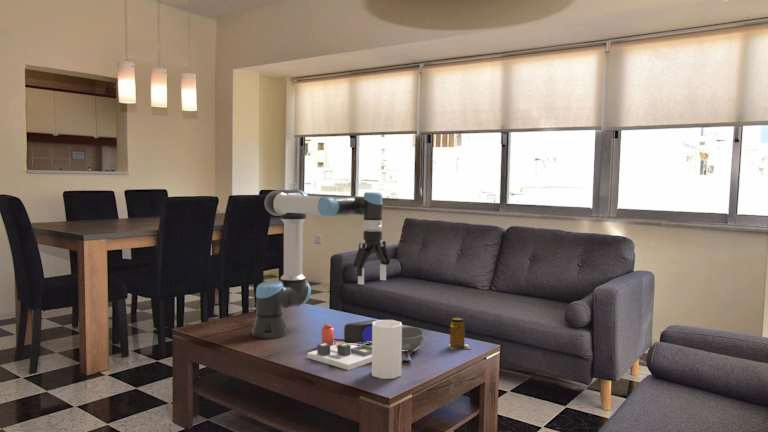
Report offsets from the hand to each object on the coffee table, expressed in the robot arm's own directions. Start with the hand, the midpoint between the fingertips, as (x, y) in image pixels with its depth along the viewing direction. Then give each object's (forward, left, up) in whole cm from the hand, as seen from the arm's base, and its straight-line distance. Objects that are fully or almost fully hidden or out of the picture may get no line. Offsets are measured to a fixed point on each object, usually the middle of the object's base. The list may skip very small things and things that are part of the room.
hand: (372, 282), depth 232 cm
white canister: (+24, -19, -28) cm, 42 cm away
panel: (0, -15, -28) cm, 32 cm away
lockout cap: (-16, -9, -28) cm, 34 cm away
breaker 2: (+1, -17, -26) cm, 31 cm away
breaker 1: (-5, -22, -26) cm, 34 cm away
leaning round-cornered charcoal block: (-9, +4, -28) cm, 30 cm away
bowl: (+10, +8, -28) cm, 31 cm away
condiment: (+25, +28, -28) cm, 47 cm away
